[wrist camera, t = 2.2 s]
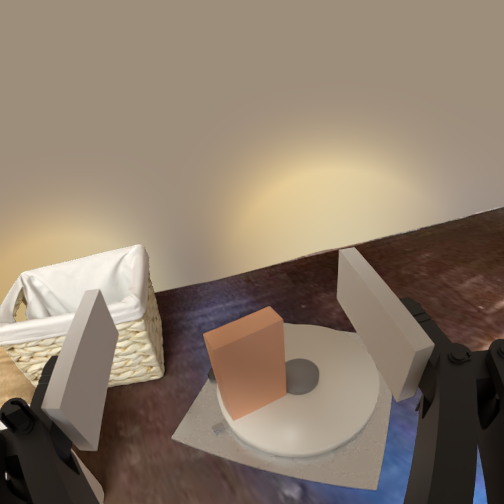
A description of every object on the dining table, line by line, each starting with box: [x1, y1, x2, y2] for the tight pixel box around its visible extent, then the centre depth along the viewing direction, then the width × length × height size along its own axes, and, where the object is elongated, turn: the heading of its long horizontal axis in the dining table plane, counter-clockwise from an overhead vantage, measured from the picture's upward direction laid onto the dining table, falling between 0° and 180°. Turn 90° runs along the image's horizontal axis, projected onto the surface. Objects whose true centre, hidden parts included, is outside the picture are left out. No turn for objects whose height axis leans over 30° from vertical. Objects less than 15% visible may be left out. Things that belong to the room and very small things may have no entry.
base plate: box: [171, 323, 392, 491], centre depth 38 cm, size 24×24×1 cm
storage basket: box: [0, 244, 165, 387], centre depth 43 cm, size 24×16×15 cm
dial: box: [203, 306, 380, 457], centre depth 35 cm, size 20×20×14 cm
